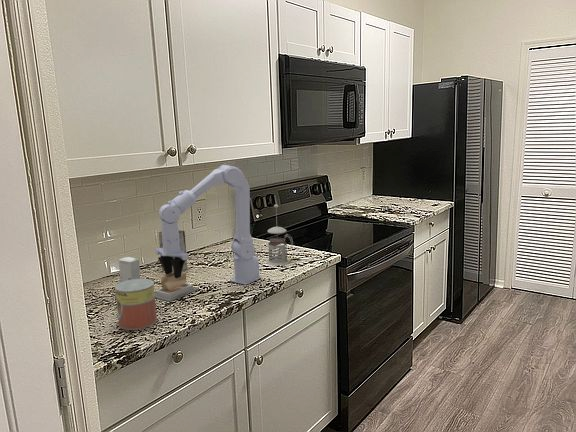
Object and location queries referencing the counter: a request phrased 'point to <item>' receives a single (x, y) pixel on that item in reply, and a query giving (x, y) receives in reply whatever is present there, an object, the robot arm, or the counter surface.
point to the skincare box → (129, 268)
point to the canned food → (136, 303)
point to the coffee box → (182, 246)
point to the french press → (280, 258)
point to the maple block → (173, 280)
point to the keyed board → (174, 292)
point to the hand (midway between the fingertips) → (173, 276)
